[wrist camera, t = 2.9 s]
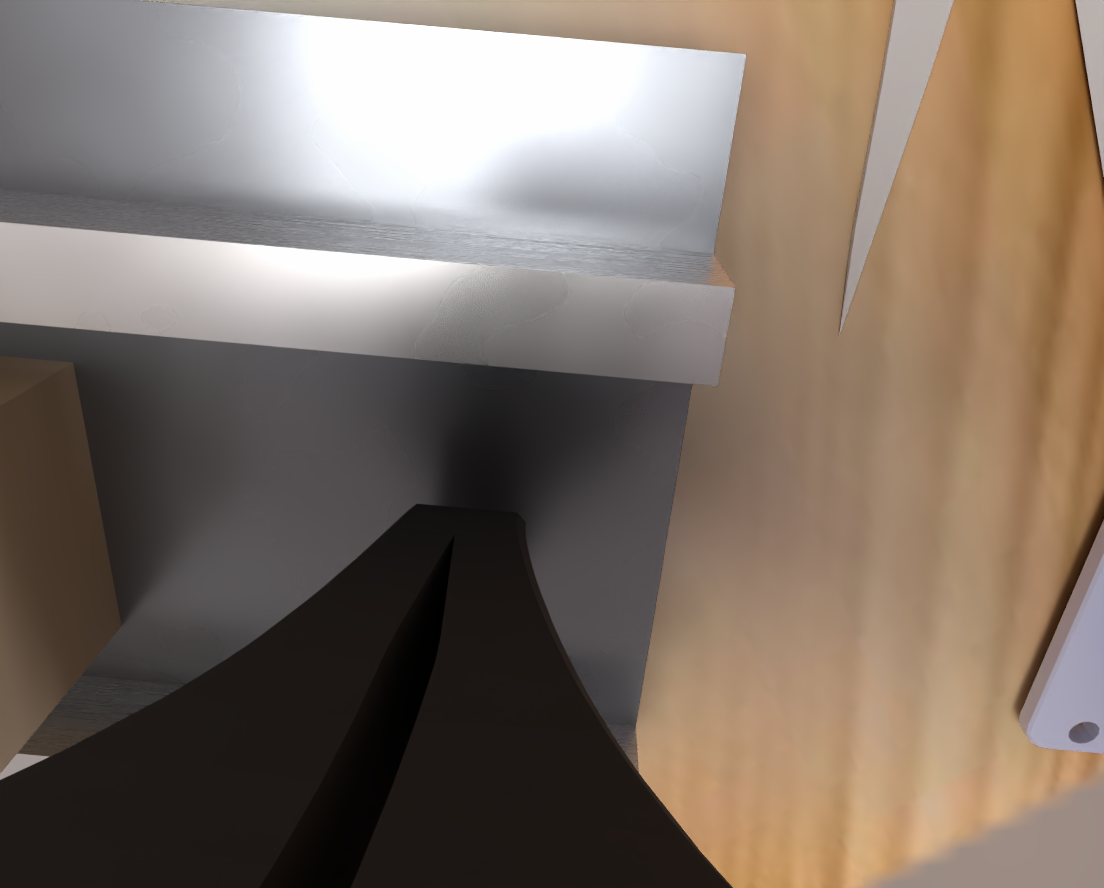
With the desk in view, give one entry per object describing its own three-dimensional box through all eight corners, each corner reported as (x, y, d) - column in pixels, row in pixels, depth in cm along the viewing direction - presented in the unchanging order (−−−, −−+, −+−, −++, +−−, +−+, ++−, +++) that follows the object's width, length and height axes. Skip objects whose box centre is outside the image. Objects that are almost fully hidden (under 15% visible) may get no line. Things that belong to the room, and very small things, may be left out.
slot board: (707, 55, 11) (777, 52, 7) (609, 727, 16) (615, 953, 12) (-481, -51, 11) (-1109, -113, 7) (-198, 654, 16) (-463, 854, 12)
